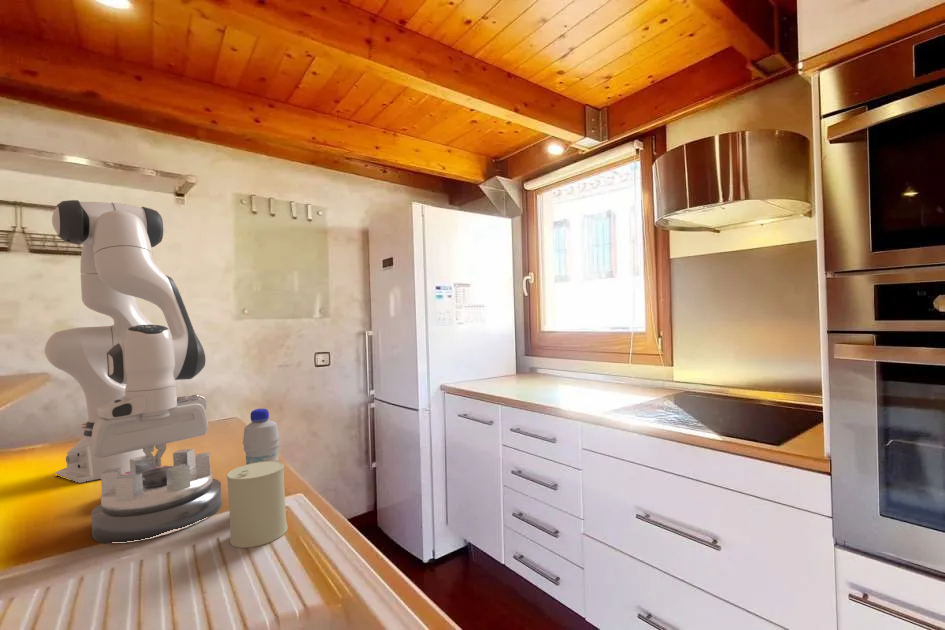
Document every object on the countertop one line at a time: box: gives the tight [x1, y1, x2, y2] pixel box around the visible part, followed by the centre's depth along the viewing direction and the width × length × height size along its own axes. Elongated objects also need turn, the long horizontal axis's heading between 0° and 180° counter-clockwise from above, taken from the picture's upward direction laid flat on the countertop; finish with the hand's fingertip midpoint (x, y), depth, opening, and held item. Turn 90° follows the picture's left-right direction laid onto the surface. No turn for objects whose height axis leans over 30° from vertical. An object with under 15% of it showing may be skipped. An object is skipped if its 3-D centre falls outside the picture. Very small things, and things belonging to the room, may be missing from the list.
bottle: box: [242, 408, 280, 465], centre depth 91 cm, size 7×7×20 cm
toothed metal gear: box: [100, 448, 213, 516], centre depth 89 cm, size 18×18×6 cm
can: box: [226, 461, 288, 549], centre depth 79 cm, size 9×9×12 cm
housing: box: [90, 477, 223, 544], centre depth 89 cm, size 21×21×4 cm
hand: (155, 466), depth 95 cm, fingers closed
